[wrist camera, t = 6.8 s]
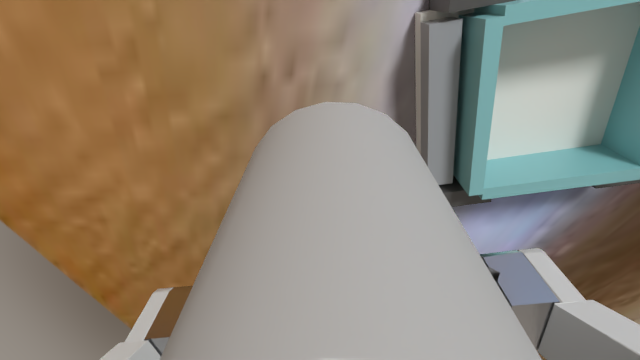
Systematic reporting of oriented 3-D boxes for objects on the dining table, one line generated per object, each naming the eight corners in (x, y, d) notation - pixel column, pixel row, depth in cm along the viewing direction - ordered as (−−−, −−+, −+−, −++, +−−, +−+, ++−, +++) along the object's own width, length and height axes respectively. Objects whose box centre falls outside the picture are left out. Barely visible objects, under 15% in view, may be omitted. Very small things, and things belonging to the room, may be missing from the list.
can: (233, 105, 12) (-193, 627, 2) (421, 83, 12) (1020, 644, 2) (271, 242, 16) (179, 664, 6) (414, 231, 16) (579, 674, 6)
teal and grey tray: (706, -69, 19) (830, -90, 14) (621, 156, 27) (683, 190, 23) (414, -12, 21) (441, -14, 16) (416, 184, 29) (434, 220, 24)
